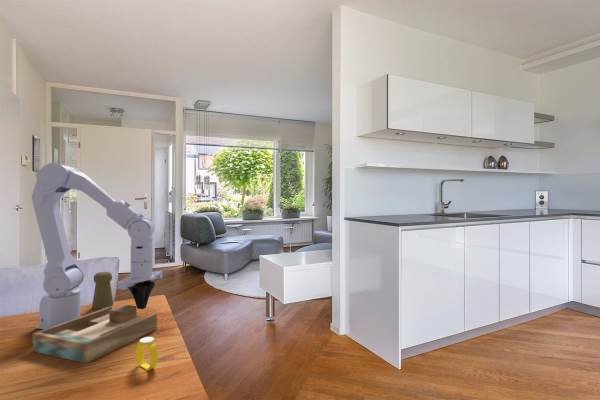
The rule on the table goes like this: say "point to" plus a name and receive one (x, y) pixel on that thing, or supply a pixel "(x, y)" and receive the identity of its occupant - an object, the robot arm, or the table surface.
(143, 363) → the watch
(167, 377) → the table surface
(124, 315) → the walnut block
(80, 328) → the board
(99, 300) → the cork
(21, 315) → the table surface
